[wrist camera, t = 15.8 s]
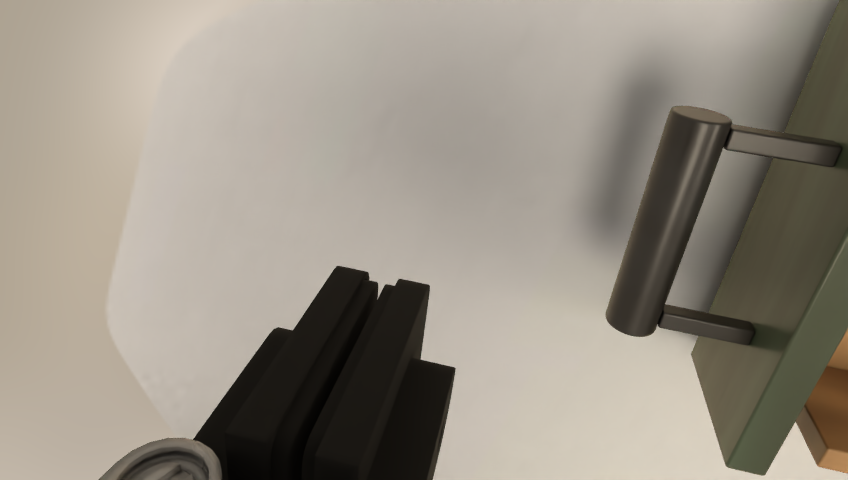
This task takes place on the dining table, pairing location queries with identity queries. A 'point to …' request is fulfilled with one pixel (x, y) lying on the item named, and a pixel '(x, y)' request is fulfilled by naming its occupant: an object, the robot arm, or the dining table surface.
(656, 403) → the dining table surface
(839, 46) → the drawer
